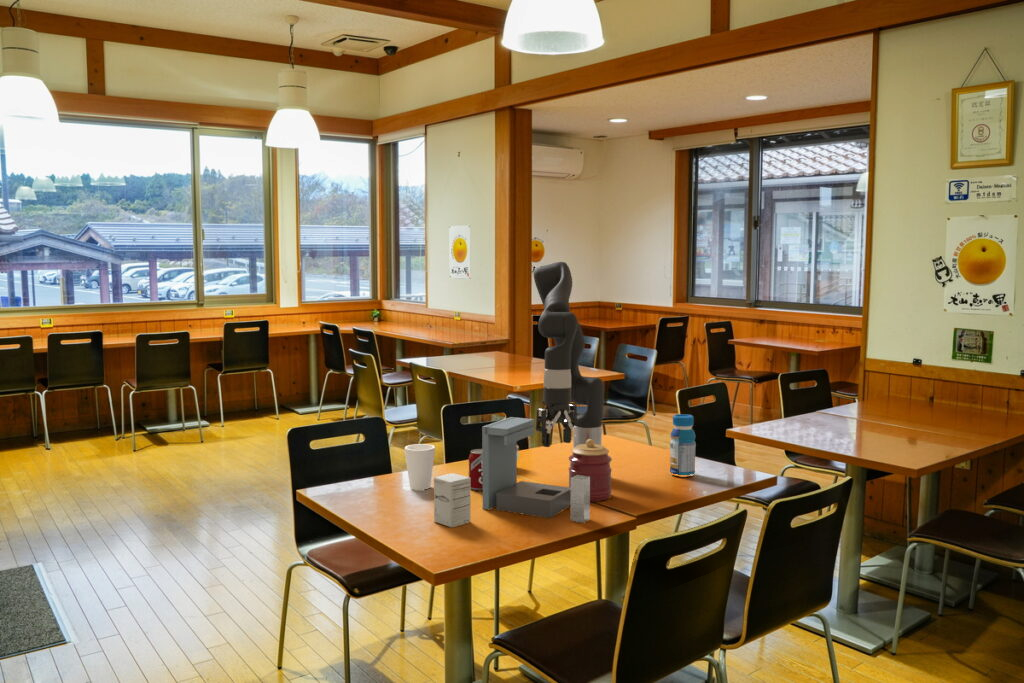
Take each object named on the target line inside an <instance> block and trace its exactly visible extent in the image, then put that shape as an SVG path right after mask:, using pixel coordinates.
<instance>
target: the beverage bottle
mask: <svg viewBox="0 0 1024 683" xmlns="http://www.w3.org/2000/svg"><path fill="white" fill-rule="evenodd" d="M694 420H695V418H694V416H693V415H692V414H684V413H681V414H680V413H679V414H678V413H676V414H674V415H673V417H672V426H673V429H672V430H671V431H670V435H669V436H670V438H671V439H670V442H669V447H670V449H669V450H670V452H669V453H670V457H669V458H670V459H669V461H670V462H669V465H670V467H669V473H670V472H671V473H673V474H678V475H690V474H694V473H695V472H696V447H697V443H696V441H695V440H696V433H695V429H693V426H695V425H694V424H695V421H694ZM695 474H696V473H695Z"/></svg>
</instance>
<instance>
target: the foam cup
mask: <svg viewBox="0 0 1024 683" xmlns="http://www.w3.org/2000/svg"><path fill="white" fill-rule="evenodd" d="M435 454H436V447H435V445H433V444H429V443H414V444H409V445H406V446H405V447H404V456H405V461H406V468H407V475H408V481H409V482H408V483H409V487H410V488H411V490H412V489H415V490H414V491H418V490H420V491H424V490H423V489H428V488H430V489H431V484H432V479H433V478H432V477H433V468H434V458H435ZM428 490H429V489H428Z"/></svg>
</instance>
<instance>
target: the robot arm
mask: <svg viewBox="0 0 1024 683" xmlns="http://www.w3.org/2000/svg"><path fill="white" fill-rule="evenodd" d="M533 279H534V284H535V286H536V289H537V293H538V296H539V298H540V300H541V303H542V305H543V308H544V310H543V311H542V313H541V315H540V317H539V319H538V326H537V328H538V332H539V333H540V335H541V336H542V337H544V338H547V339H553V341H554V344H555V345H554V346H550V347H547V348H546V349H545V350H544V371H543V403H544V404H545V408H537V409H536V419H535V421H536V422H535V423H536V424H535V430H536V431H537V432H540V433H541V445H542V447H544V448H550V447H551V430H552V428H553V427H555V425H556V424H559V423H560V424H561V426H562V427H563V429H562V431H563V432H562V436H563V437H562V438H563V439H562V441H563V443H566V444H570V443H571V442H572V441H573V445H572V446H573V448H575V447H576V446H577V445H580V444H586V441H587V440H588V439H592V440H594V443H595V444H598V445H602V437H603V436H602V430H603V429H602V426H603V425H602V424H603V423H602V421H603V417H604V404H605V403H604V402H605V385H604V382H603V380H602V379H601V378H599V377H593V376H583V375H582V374H581V372H580V369H579V362H580V359H581V357H582V354H583V353H584V349H585V344H586V343H585V337H584V334H583V330H582V327H581V324H580V322H578V321H579V320H578V317H577V315H575V313H573V312H571V310H570V297H571V293H572V290H573V276H572V273H571V270H570V267H569V265H568V264H567V263H566V262H564V261H558V262H554V263H553V262H552V263H550V264H549V263H548V264H546V265H542V266H538V267H536V268H535V269H534V271H533ZM571 402H572V403H574V404H570V403H571ZM576 404H577V405H584V406H587V407H586V408H587V409H586V411H585V412H584V413H581V414H578V407H577V405H576ZM572 429H573V430H572ZM572 432H573V437H572ZM572 438H573V440H572ZM573 448H572V449H573Z"/></svg>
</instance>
